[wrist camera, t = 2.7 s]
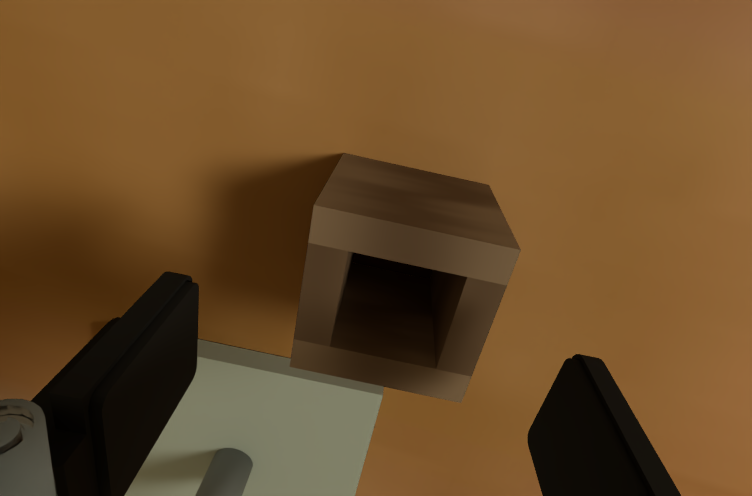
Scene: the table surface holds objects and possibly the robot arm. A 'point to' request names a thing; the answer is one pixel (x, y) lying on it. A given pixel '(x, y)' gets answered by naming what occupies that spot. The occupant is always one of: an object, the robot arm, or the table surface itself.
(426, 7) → the table surface
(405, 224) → the collar
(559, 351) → the table surface
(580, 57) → the table surface
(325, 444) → the post board
